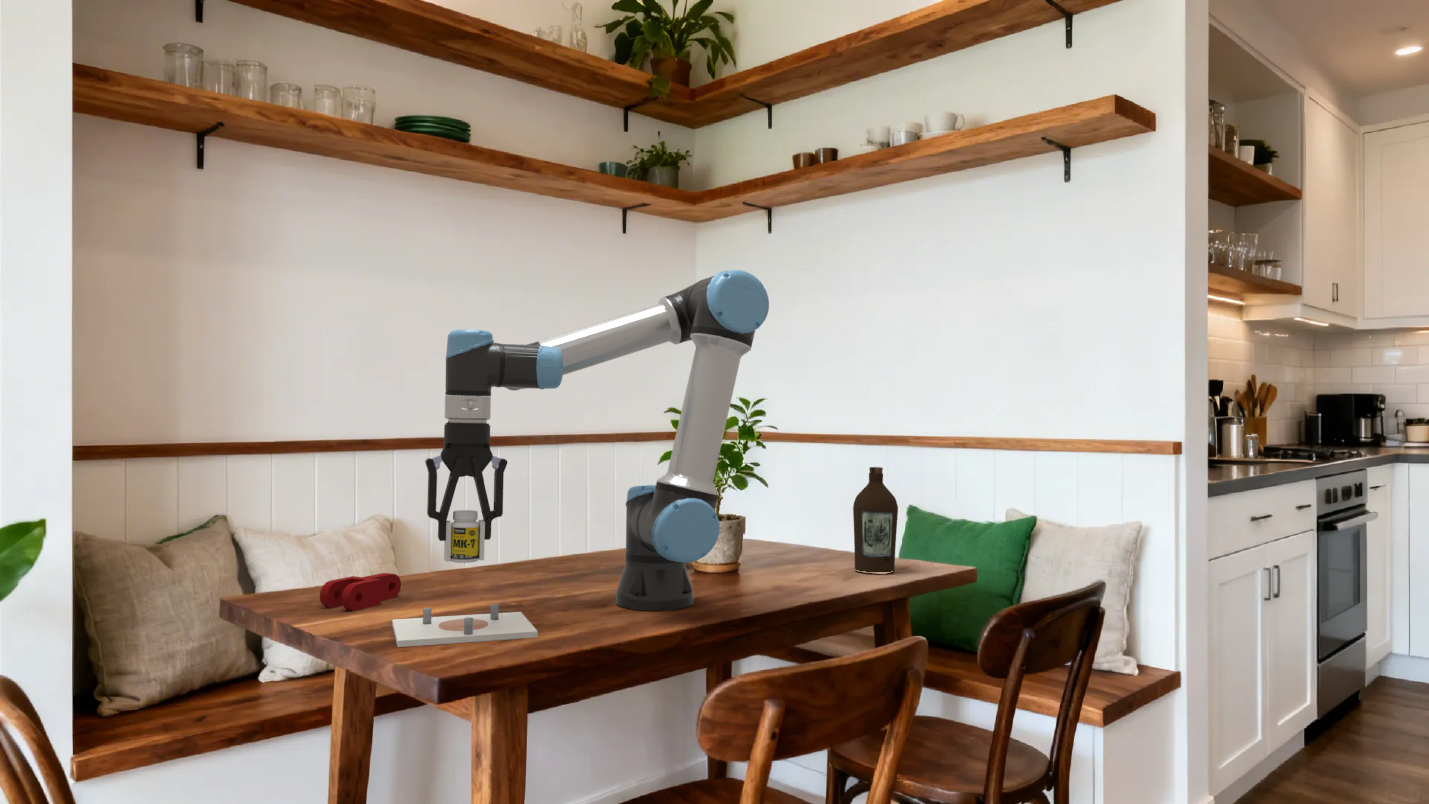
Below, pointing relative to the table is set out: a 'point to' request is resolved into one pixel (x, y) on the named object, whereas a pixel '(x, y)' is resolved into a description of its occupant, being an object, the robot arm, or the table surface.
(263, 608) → the table surface
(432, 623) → the pin plate
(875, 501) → the olive oil
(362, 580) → the mechanical linkage
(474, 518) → the supplement bottle
